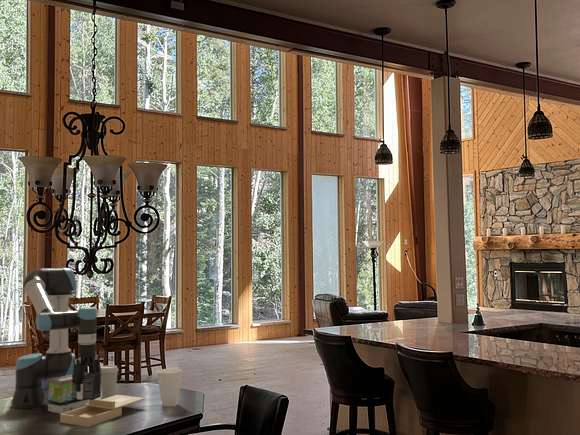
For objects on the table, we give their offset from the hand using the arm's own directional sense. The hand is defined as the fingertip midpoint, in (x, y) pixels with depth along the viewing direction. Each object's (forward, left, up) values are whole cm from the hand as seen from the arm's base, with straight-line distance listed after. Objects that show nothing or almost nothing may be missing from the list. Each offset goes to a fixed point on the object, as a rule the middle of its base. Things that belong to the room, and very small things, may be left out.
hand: (86, 397), depth 266 cm
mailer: (0, +3, -10) cm, 10 cm away
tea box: (-22, +11, -10) cm, 27 cm away
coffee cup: (-22, +37, -10) cm, 44 cm away
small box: (0, 0, -1) cm, 1 cm away
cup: (+16, +37, -10) cm, 42 cm away
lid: (0, +18, -6) cm, 19 cm away
